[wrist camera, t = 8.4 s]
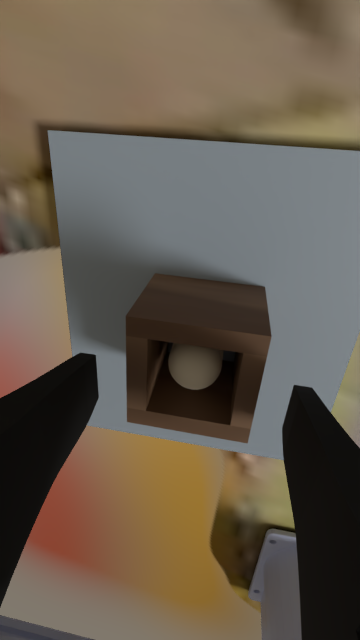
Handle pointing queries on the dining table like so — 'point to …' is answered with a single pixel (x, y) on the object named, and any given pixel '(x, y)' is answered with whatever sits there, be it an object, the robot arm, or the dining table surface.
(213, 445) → the grey rectangular slab
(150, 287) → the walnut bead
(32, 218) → the dining table surface
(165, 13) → the dining table surface
